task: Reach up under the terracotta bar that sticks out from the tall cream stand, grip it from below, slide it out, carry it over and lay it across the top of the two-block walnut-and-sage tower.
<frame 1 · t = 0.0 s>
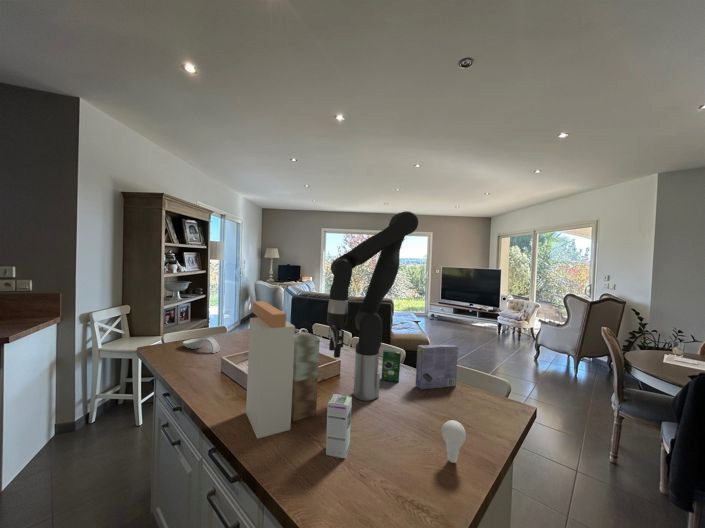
hand: (334, 353, 111), 17 cm above the counter, tool pointing down, fingers open, 8 cm apart
stand: (267, 420, 94), on the counter
coffee box: (390, 380, 131), on the counter
spoon rest: (201, 349, 161), on the counter
cake pan box: (436, 386, 127), on the counter
tower: (300, 412, 100), on the counter
lightbulb: (452, 462, 79), on the counter
bar: (267, 318, 98), point 32 cm above the counter, touching stand
syrup box: (338, 451, 81), on the counter
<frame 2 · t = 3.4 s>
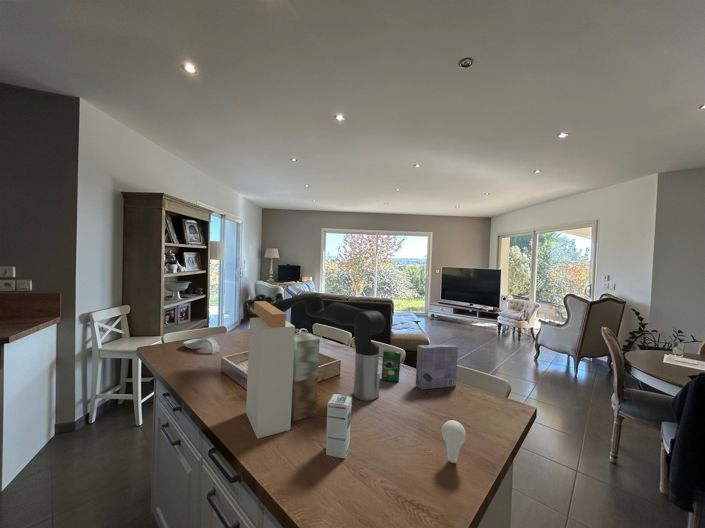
hand: (269, 297, 118), 36 cm above the counter, tool pointing upward, fingers open, 8 cm apart
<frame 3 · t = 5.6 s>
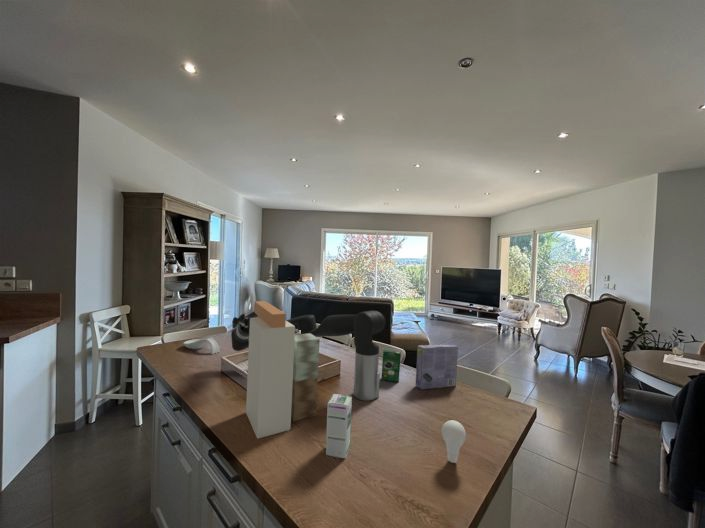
hand: (255, 315, 112), 30 cm above the counter, tool pointing upward, fingers open, 8 cm apart
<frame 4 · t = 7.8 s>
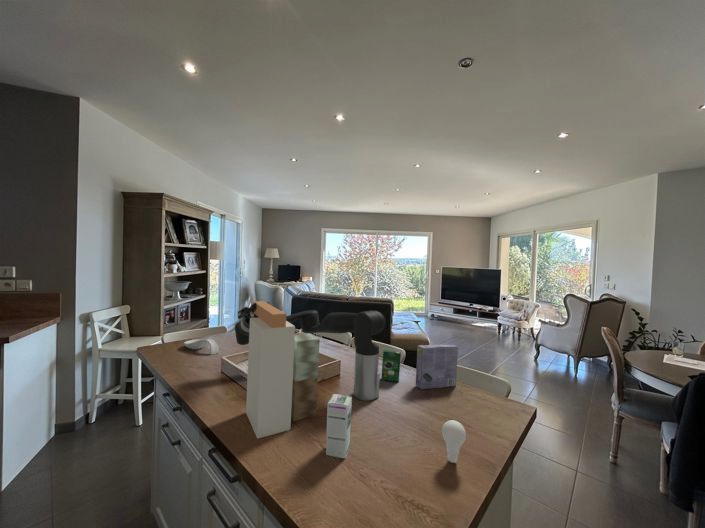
hand: (262, 305, 104), 35 cm above the counter, tool pointing upward, fingers closed on bar, 4 cm apart
bar: (267, 318, 98), point 32 cm above the counter, touching gripper, stand
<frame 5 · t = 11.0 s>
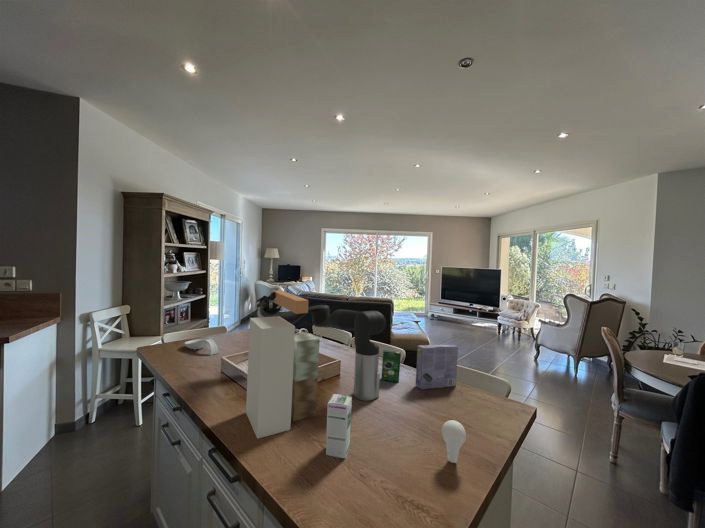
hand: (281, 293, 108), 39 cm above the counter, tool pointing upward, fingers closed on bar, 4 cm apart
bar: (287, 306, 102), point 36 cm above the counter, touching gripper
when the fingers open (30 cm above the counter, at t = 14.2 s): bar stays where it is, resting on tower.
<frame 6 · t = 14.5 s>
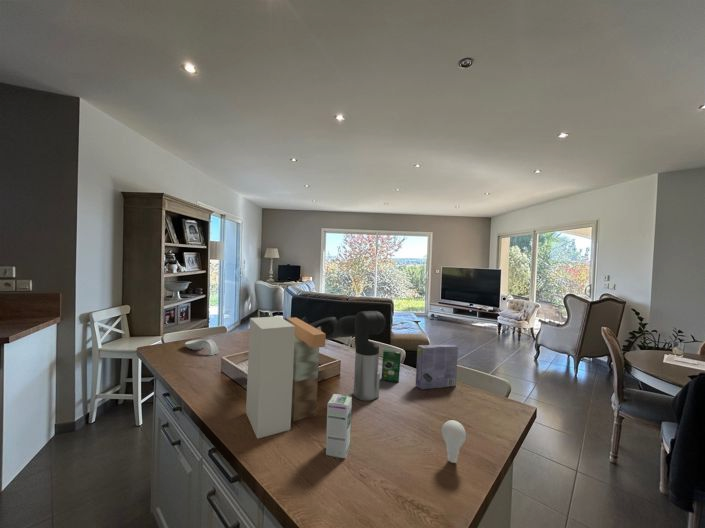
hand: (295, 320, 107), 30 cm above the counter, tool pointing upward, fingers open, 7 cm apart
bar: (303, 336, 100), point 26 cm above the counter, touching tower
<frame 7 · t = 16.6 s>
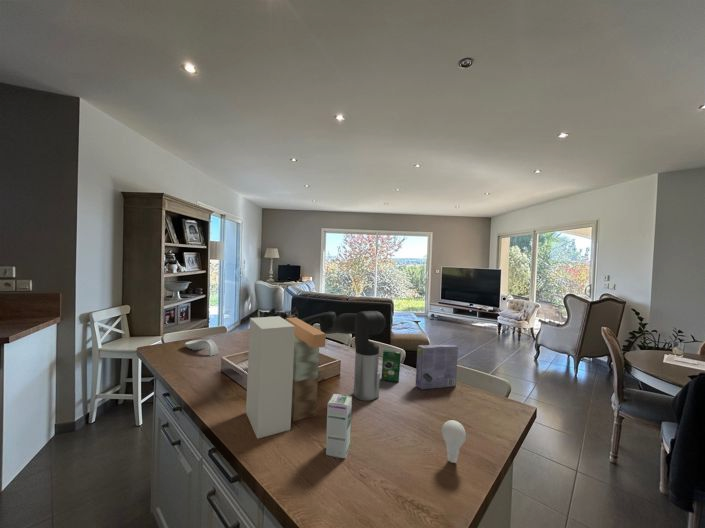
hand: (285, 309, 117), 32 cm above the counter, tool pointing upward, fingers open, 8 cm apart
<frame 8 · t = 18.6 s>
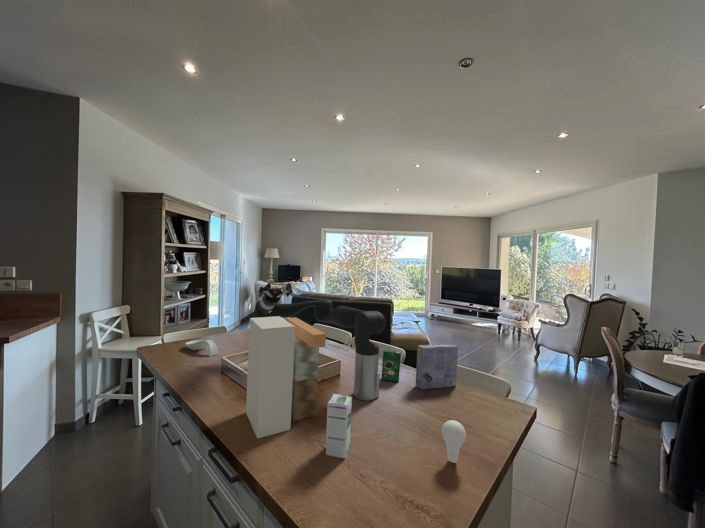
hand: (279, 284, 125), 41 cm above the counter, tool pointing upward, fingers open, 8 cm apart
at the end: bar inside the target area on the tower (0.5 cm from its centre), point 26.0 cm above the tower's base; bar touching tower; the gripper is holding nothing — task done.
